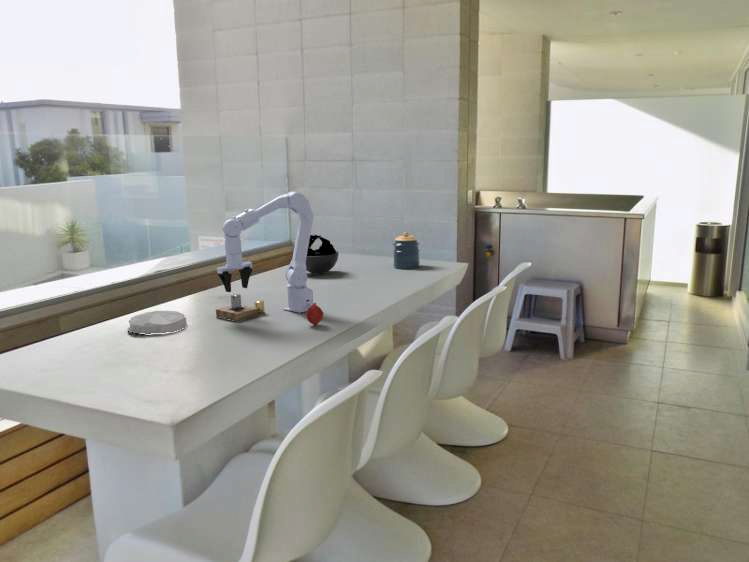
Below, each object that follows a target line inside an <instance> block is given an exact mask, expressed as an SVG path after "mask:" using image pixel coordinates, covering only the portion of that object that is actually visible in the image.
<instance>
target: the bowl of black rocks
mask: <svg viewBox="0 0 749 562" xmlns="http://www.w3.org/2000/svg"><path fill="white" fill-rule="evenodd" d="M318 239H319V240H320V241H321V244H320V246H319V247H318V248H317V249H312V245H314V243H315V241H316V240H318ZM339 254H340V253H339V251H338V250H336V249H335V247H334V245H333V243H331V240H329V239H327V238H325V237H322V235H318V234H314V235H313V234H310V240H309V245H308V251H307V256H306V262H305V263H306V272H308V273H311V274H314V275H322V274H324V273H327V272H329V271H331V270H332V269H333V268H334V267H335V265H336V264H337V262H338V260H339Z"/></svg>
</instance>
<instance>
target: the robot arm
mask: <svg viewBox="0 0 749 562" xmlns="http://www.w3.org/2000/svg"><path fill="white" fill-rule="evenodd" d="M278 209H290V210H292V211H293V212H294V213H295V214H296V216H297V217H298V225H297V230H296V236H295V243H294V247H293V254H292V259H291V261H290V263H289V267H288V269H287V270H286V271H285V279H286V281H288V283H287V285H286V289H287V291H286V292H287V306H288V307H283V310H285V311H288V312H295V313H300V314H301V312H302V313H305V312H307V310H308V308H309V307H310V306H312V305H313V303H314V292H313V289H311V288H309V287H308V286H307V281H308V276H307V271H306V263H305V262H306V256H307V251H308V245H309V240H310V235H312V234H311V233H312V228H313V221H314V213H313V210H312V208H311V205H310V201H309V199H308V198H307V197H306V196H305V194H303V193H301V192H297V191H293V190H291V191H289V192H287V193H284V194H281V195H279V196H278V197H275V198H273V199H272V200H270V201H269V202H267V203H265V204H264V205H262V206H260V207H258V208H257V209H252V208H249V209H248V208H245V209H243V211H244V212H242V213H240V214H238V215H234V216H232V219H227V220H225V221H224V223H223V225H222V231H223V233H224V249H225V259H226V261H225V262H226V264H225V265H223V266H220V267H217V268H216V273H217V276H218V277H219V279H220V280H221V282H222V284H223V288H224V290H225V292H226V293H231V292H232V276H233V274H232V273H230V272H233V271H234V272H235V271H238V272H239V276H240V279H241V280H240V281H241V287H242V288H243V289H248V285H249V280H250V277H251V274H252V272H253V262H252V261H246V262H245V261H244V262H243V253H242V252H243V251H242V240H241V232H242V231H246V230H247V229H250V228H251V227H253V226H255V225H257V224H259V222H260V219H261V218H262V217H265V216H267V215H268V214H271V213H272V212H274V211H276V210H278Z"/></svg>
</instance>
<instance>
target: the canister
mask: <svg viewBox="0 0 749 562" xmlns="http://www.w3.org/2000/svg"><path fill="white" fill-rule="evenodd" d="M394 240H395V241H394V242H393V243H392V245H393V246H394V247H393V248H394V249H393V267H394V268H395V269H398V270H399V269H401V270H412V269H418V268H419V267H420V249H419V245H420V242H419V241H418V237H415V235H411V234H410V235H409V232H408V231H405V232H403V235H399V236H397V237H395V238H394Z"/></svg>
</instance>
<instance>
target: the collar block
mask: <svg viewBox="0 0 749 562" xmlns="http://www.w3.org/2000/svg"><path fill="white" fill-rule="evenodd" d="M241 307H242V310H238V311H233V310H232V308H231V305H228V306H224V307H221V308H216V309H215V315H216V316H215V317H216V318H217V317H221V318H220V319H222V318H225V319H224V320H226V319H230V320H229V321H231V320H234V321H233V322H235V321H239V322H242V321H241V320H243V321H245V320H244V319H246V320H249V318H250V319H252V317H253V318H256V317H255V316H257V317H259V316H260V314H259V309H258V308H256V307H254V306H249V305H245V304H241Z"/></svg>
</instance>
